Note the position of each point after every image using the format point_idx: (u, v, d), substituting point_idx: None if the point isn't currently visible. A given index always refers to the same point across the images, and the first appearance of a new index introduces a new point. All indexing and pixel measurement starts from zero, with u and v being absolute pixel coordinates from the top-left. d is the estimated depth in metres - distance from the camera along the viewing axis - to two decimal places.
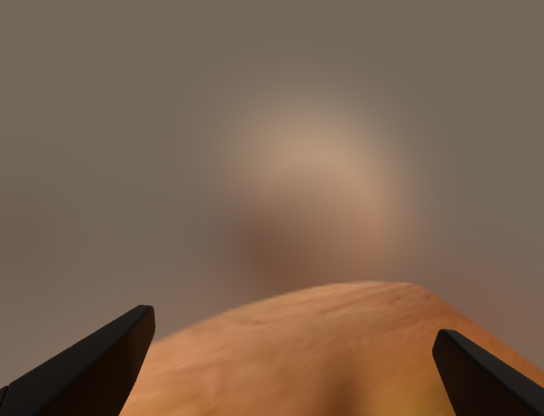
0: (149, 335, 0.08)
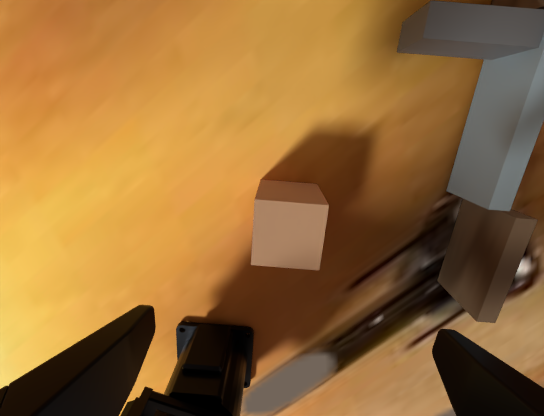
0: (149, 335, 0.08)
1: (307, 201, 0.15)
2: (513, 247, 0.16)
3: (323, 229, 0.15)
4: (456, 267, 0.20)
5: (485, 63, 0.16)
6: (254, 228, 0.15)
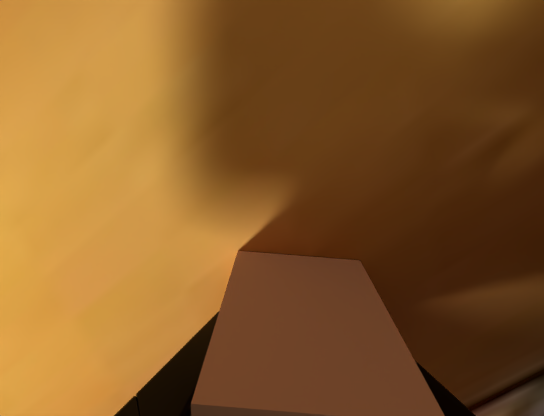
0: None
1: (368, 398, 0.05)
2: None
3: None
4: None
5: None
6: None
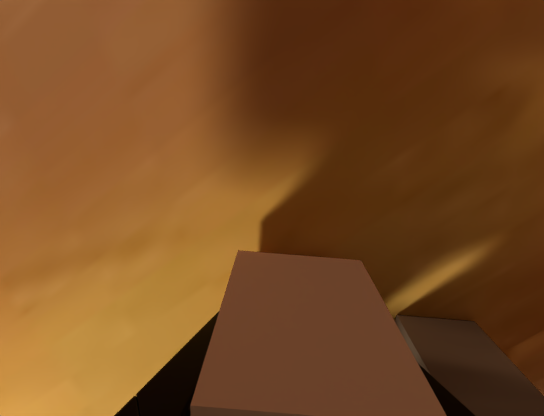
0: None
1: (370, 400, 0.04)
2: None
3: None
4: None
5: None
6: None
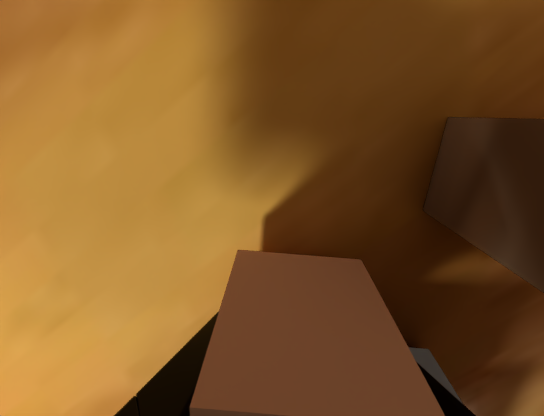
0: None
1: (369, 401, 0.04)
2: None
3: None
4: None
5: None
6: None
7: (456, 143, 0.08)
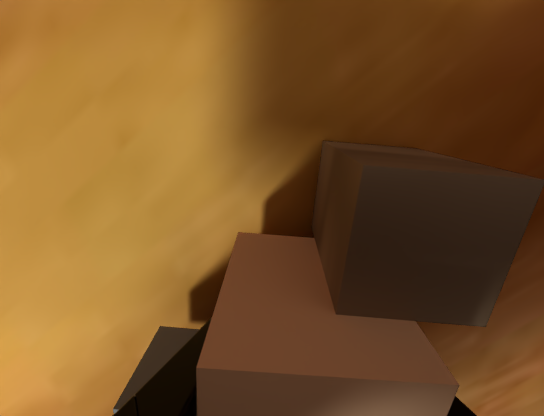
0: None
1: (377, 362, 0.04)
2: None
3: None
4: None
5: None
6: None
7: (323, 166, 0.08)
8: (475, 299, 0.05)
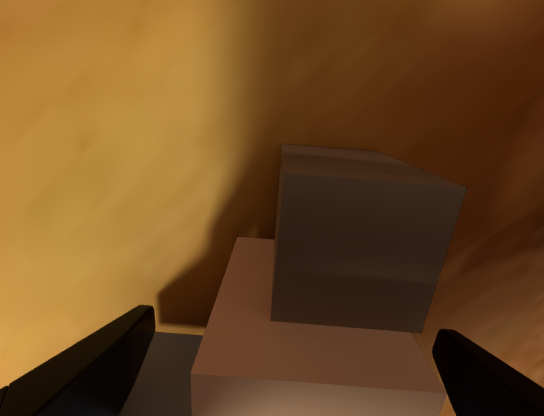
0: (149, 335, 0.08)
1: (366, 369, 0.05)
2: None
3: None
4: None
5: None
6: None
7: (280, 170, 0.08)
8: (408, 305, 0.05)
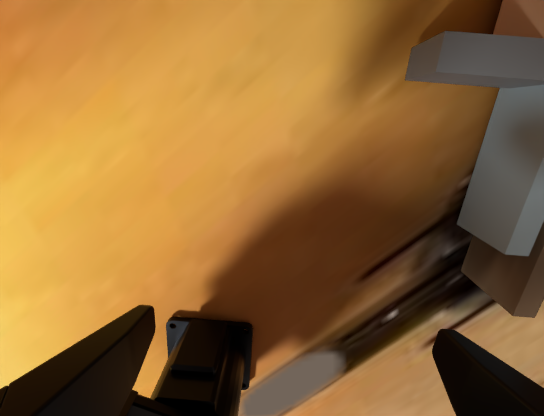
0: (149, 335, 0.08)
1: None
2: None
3: None
4: (485, 254, 0.17)
5: (501, 90, 0.15)
6: None
7: None
8: None
